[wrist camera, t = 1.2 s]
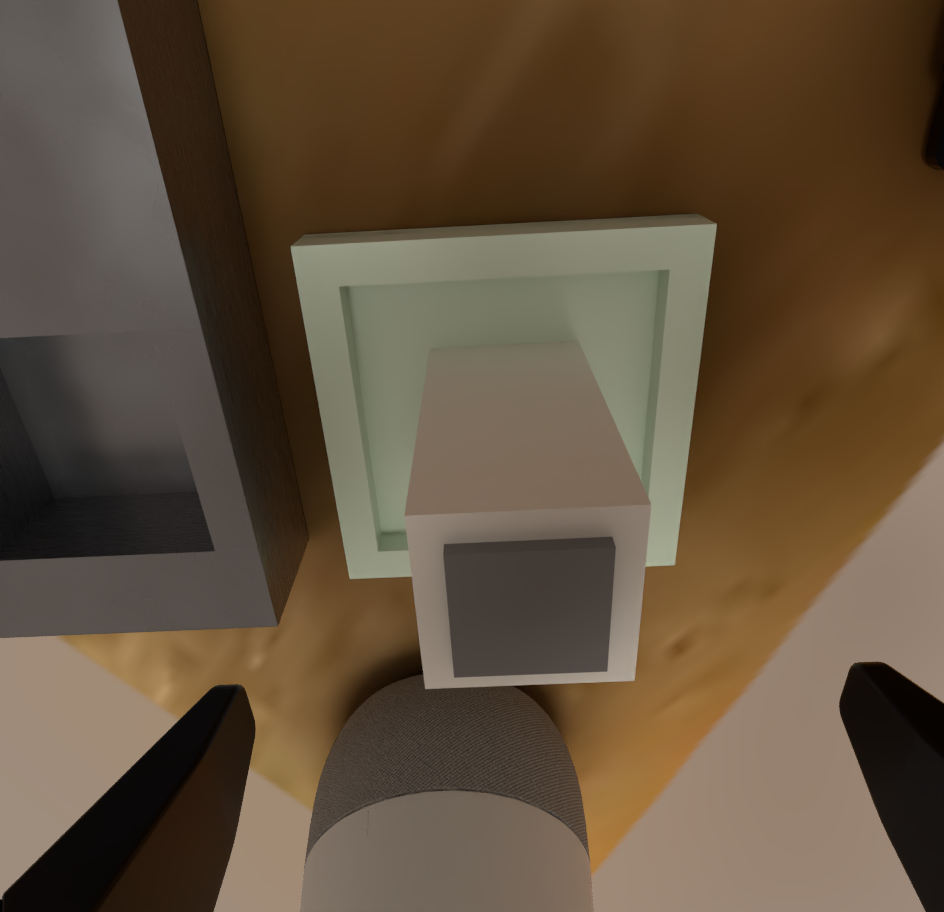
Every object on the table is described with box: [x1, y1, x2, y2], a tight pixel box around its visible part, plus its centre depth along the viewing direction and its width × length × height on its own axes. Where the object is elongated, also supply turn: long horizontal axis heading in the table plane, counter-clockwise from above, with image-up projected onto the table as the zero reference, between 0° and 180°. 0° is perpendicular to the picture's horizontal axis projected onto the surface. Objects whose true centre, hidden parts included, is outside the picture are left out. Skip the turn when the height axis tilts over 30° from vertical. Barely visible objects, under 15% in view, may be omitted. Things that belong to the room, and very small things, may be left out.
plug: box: [404, 341, 651, 689], centre depth 15 cm, size 4×4×8 cm
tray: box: [290, 214, 717, 579], centre depth 18 cm, size 10×10×2 cm
